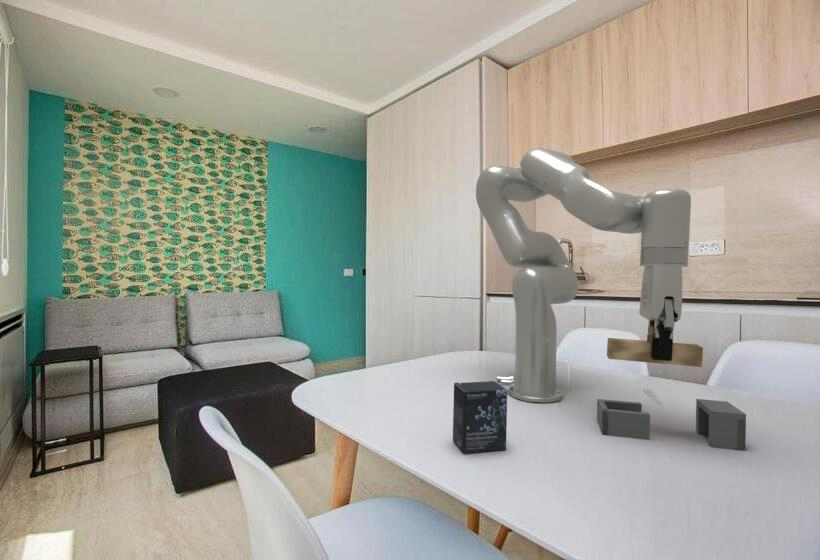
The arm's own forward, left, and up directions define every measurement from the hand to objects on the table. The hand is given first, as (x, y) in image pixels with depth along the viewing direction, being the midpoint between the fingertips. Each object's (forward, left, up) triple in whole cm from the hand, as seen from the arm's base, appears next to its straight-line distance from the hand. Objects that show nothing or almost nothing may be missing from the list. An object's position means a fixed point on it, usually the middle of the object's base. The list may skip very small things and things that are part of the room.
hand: (658, 356), depth 77 cm
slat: (-1, 0, -1) cm, 1 cm away
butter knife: (+6, +21, -15) cm, 26 cm away
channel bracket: (+10, +1, -15) cm, 18 cm away
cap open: (-6, +1, -15) cm, 16 cm away
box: (-31, -15, -15) cm, 38 cm away
